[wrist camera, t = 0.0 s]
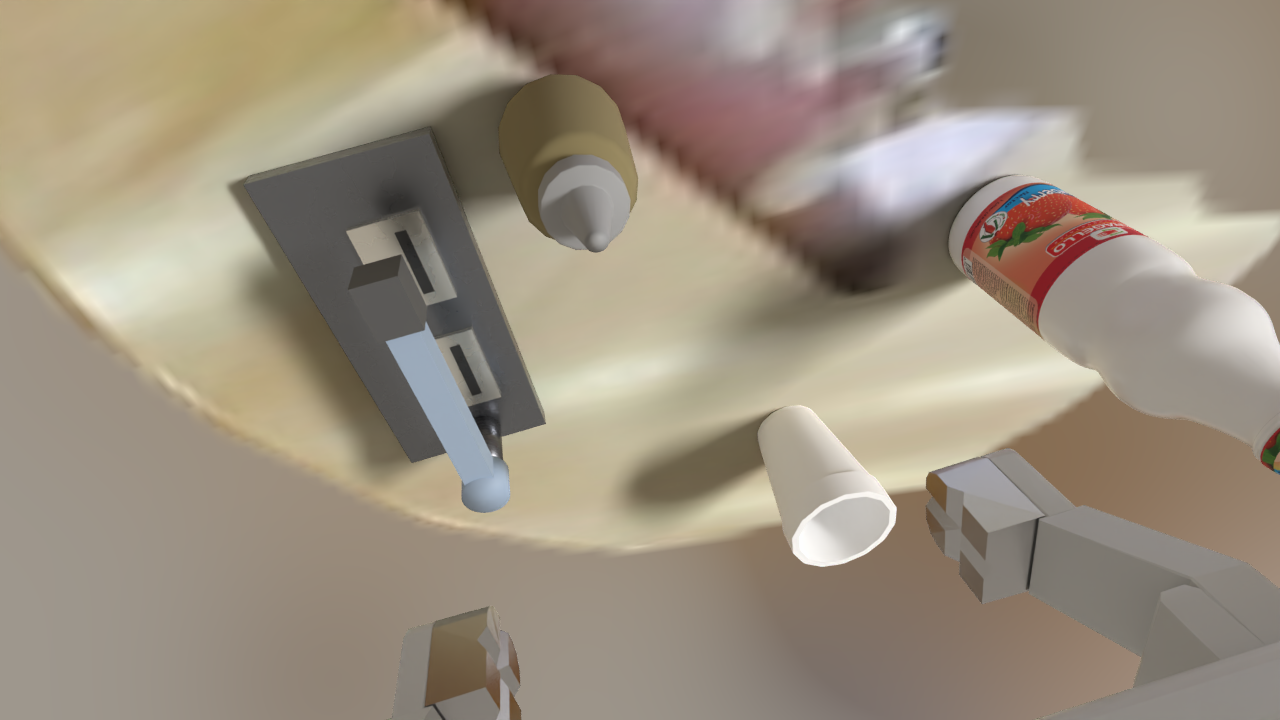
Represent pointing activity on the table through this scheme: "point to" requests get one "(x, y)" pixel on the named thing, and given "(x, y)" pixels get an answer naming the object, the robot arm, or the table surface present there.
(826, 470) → the foam cup
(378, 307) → the swing arm
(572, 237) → the squeeze bottle
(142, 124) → the table surface
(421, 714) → the robot arm
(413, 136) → the switch panel
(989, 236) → the fruit juice
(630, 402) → the table surface
